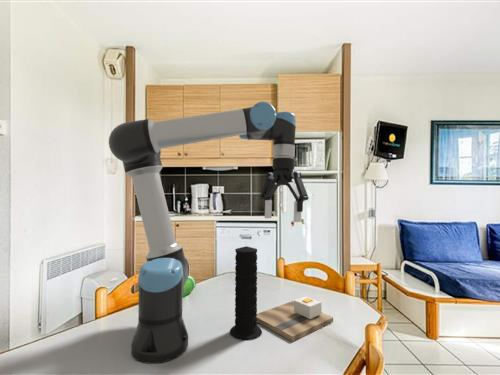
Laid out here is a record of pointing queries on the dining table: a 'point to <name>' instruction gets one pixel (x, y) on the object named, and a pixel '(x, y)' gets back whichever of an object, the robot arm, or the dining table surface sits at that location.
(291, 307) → the subfloor panel
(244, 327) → the handle grip
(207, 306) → the dining table surface
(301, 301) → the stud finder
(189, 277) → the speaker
